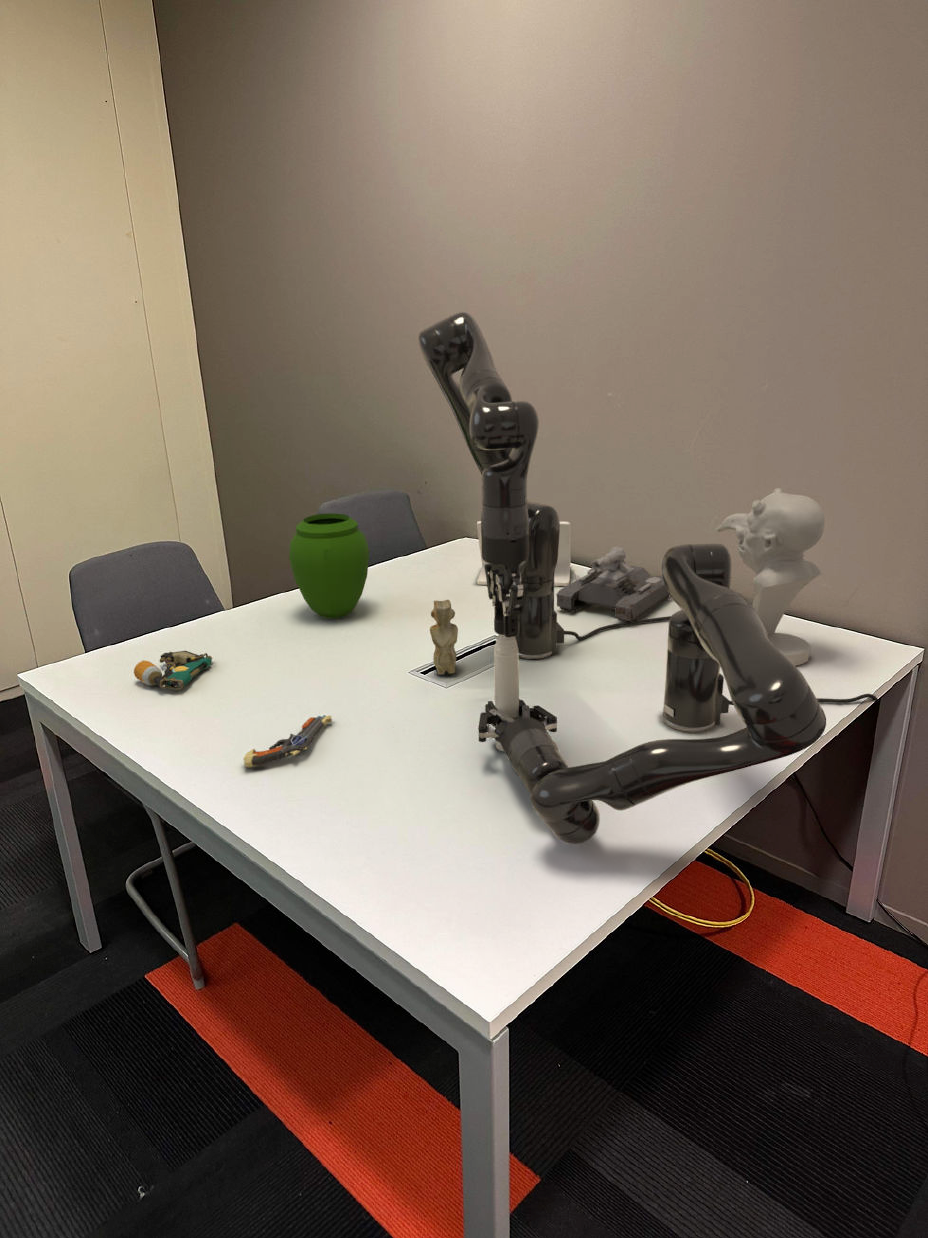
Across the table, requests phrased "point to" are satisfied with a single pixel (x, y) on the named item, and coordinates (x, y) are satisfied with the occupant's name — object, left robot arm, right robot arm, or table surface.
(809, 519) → the bust sculpture
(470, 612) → the table surface
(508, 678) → the bottle
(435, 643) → the sculpture
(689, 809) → the table surface
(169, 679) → the spray gun
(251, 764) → the toy gun
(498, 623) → the cap
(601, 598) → the toy
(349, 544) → the vase
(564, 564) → the tablet stand
